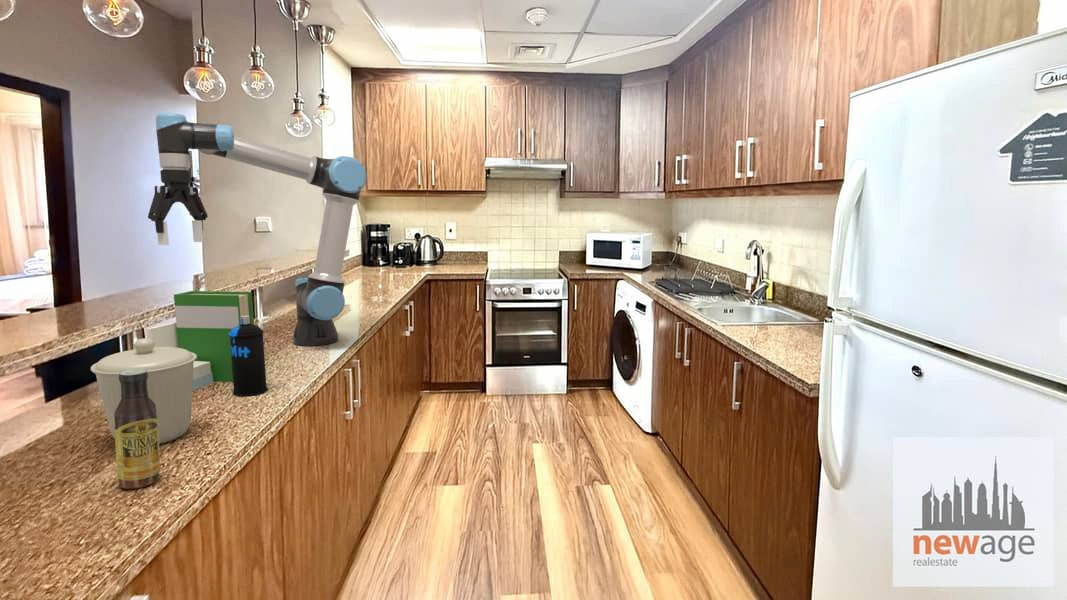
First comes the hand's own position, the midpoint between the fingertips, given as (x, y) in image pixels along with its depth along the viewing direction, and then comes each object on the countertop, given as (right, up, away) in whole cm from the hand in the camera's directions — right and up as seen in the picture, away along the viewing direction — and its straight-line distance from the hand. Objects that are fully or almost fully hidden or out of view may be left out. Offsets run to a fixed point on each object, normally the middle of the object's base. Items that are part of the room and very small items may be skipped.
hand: (181, 243), depth 174 cm
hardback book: (+15, -39, -8) cm, 42 cm away
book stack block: (+10, -40, -16) cm, 44 cm away
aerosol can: (+30, -41, -20) cm, 54 cm away
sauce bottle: (+35, -49, -71) cm, 93 cm away
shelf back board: (+5, -38, -8) cm, 40 cm away
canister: (+24, -45, -51) cm, 72 cm away
